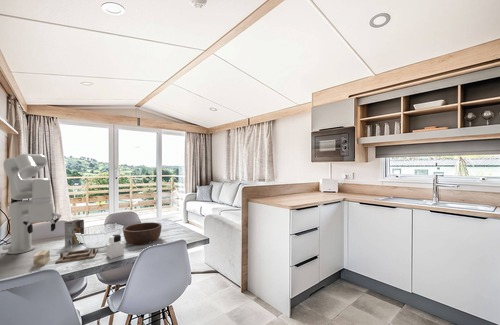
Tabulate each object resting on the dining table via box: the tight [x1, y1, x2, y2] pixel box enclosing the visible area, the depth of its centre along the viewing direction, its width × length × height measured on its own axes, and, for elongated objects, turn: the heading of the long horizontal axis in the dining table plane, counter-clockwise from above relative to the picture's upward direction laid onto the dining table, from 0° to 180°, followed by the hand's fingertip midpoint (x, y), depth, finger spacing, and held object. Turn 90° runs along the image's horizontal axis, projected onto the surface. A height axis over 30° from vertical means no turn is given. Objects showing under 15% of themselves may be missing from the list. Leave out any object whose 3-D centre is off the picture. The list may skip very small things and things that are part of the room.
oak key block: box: [32, 249, 51, 268], centre depth 130 cm, size 4×8×6 cm, turn 24°
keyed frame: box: [54, 247, 99, 264], centre depth 139 cm, size 18×13×4 cm
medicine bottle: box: [105, 234, 125, 259], centre depth 140 cm, size 7×7×12 cm
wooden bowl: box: [122, 221, 162, 246], centre depth 167 cm, size 25×25×10 cm
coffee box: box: [64, 219, 85, 247], centre depth 162 cm, size 9×6×16 cm
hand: (41, 231), depth 130 cm, fingers open, 9 cm apart
